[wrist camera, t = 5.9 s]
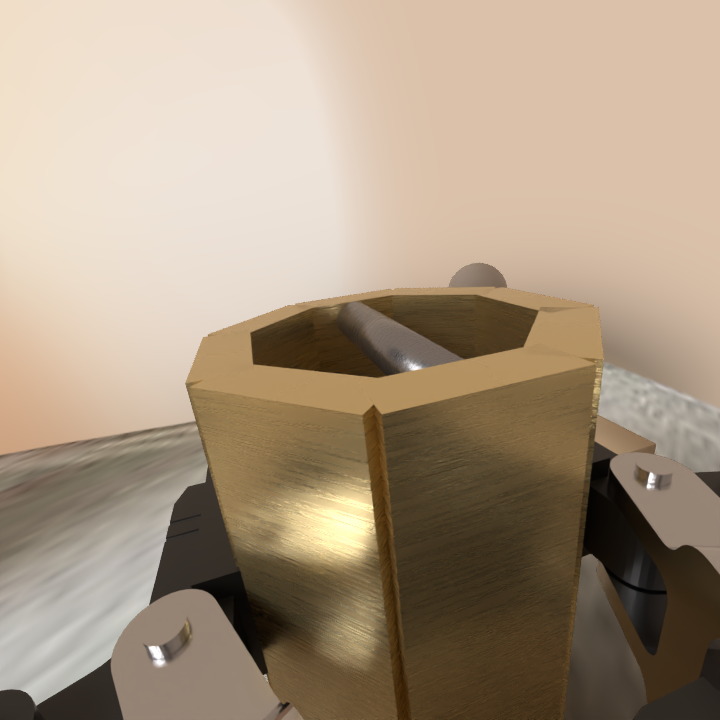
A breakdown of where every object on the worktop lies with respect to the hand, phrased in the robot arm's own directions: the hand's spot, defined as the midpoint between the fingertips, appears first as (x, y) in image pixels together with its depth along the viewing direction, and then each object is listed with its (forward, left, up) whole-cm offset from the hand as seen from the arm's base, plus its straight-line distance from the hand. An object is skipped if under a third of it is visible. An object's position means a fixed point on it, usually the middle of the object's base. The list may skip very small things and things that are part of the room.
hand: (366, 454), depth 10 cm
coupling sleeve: (0, -2, -6) cm, 6 cm away
